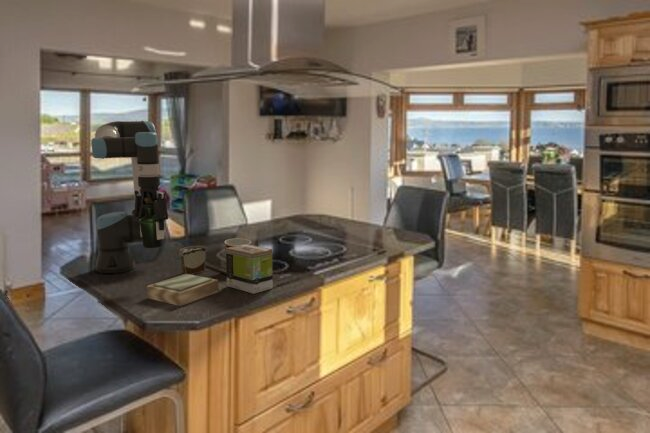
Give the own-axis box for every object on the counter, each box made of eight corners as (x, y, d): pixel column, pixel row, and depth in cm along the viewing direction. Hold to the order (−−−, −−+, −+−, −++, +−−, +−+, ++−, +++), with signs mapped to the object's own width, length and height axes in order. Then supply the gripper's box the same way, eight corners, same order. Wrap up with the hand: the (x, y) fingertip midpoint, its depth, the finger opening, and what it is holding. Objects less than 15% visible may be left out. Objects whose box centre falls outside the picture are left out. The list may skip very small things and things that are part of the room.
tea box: (274, 288, 199) (273, 248, 197) (252, 294, 192) (251, 253, 190) (247, 280, 209) (245, 242, 207) (226, 286, 202) (224, 247, 200)
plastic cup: (232, 274, 218) (231, 244, 216) (220, 268, 227) (219, 240, 225) (256, 270, 224) (256, 241, 222) (244, 264, 233) (243, 237, 231)
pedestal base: (147, 298, 189) (146, 284, 188) (186, 285, 204) (185, 272, 203) (180, 306, 180) (179, 291, 180) (218, 291, 196) (218, 278, 195)
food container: (198, 267, 229) (197, 244, 227) (207, 270, 225) (206, 246, 223) (173, 274, 219) (172, 249, 217) (182, 276, 215) (181, 251, 214)
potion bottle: (151, 243, 207) (148, 195, 204) (168, 244, 204) (166, 196, 201) (136, 247, 200) (133, 198, 196) (154, 249, 197) (151, 199, 194)
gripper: (120, 175, 200) (125, 236, 204) (160, 178, 189) (164, 242, 193) (137, 173, 206) (141, 232, 210) (177, 176, 195) (180, 238, 199)
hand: (152, 237), depth 201 cm, fingers closed on potion bottle, 8 cm apart
